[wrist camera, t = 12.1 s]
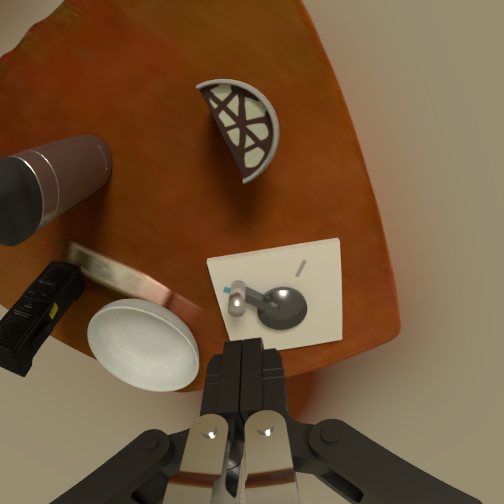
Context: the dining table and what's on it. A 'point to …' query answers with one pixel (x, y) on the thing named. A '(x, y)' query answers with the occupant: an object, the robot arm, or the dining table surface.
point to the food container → (243, 123)
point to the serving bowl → (144, 345)
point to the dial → (269, 305)
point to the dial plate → (285, 275)
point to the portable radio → (37, 315)
